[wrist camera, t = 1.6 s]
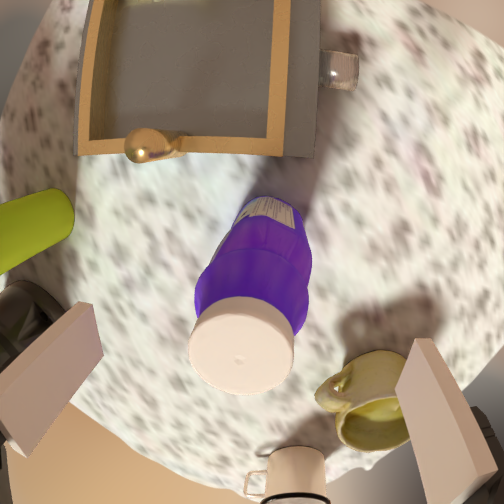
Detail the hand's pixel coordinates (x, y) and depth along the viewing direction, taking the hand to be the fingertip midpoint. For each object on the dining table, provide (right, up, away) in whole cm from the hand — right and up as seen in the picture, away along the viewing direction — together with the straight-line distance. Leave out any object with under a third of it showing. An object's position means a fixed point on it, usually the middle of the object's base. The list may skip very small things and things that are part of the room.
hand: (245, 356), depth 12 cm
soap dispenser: (-21, +9, +18) cm, 29 cm away
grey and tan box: (-2, +19, +12) cm, 23 cm away
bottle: (+1, +6, +16) cm, 17 cm away
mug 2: (+13, -9, +20) cm, 26 cm away
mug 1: (+6, -27, +27) cm, 39 cm away
